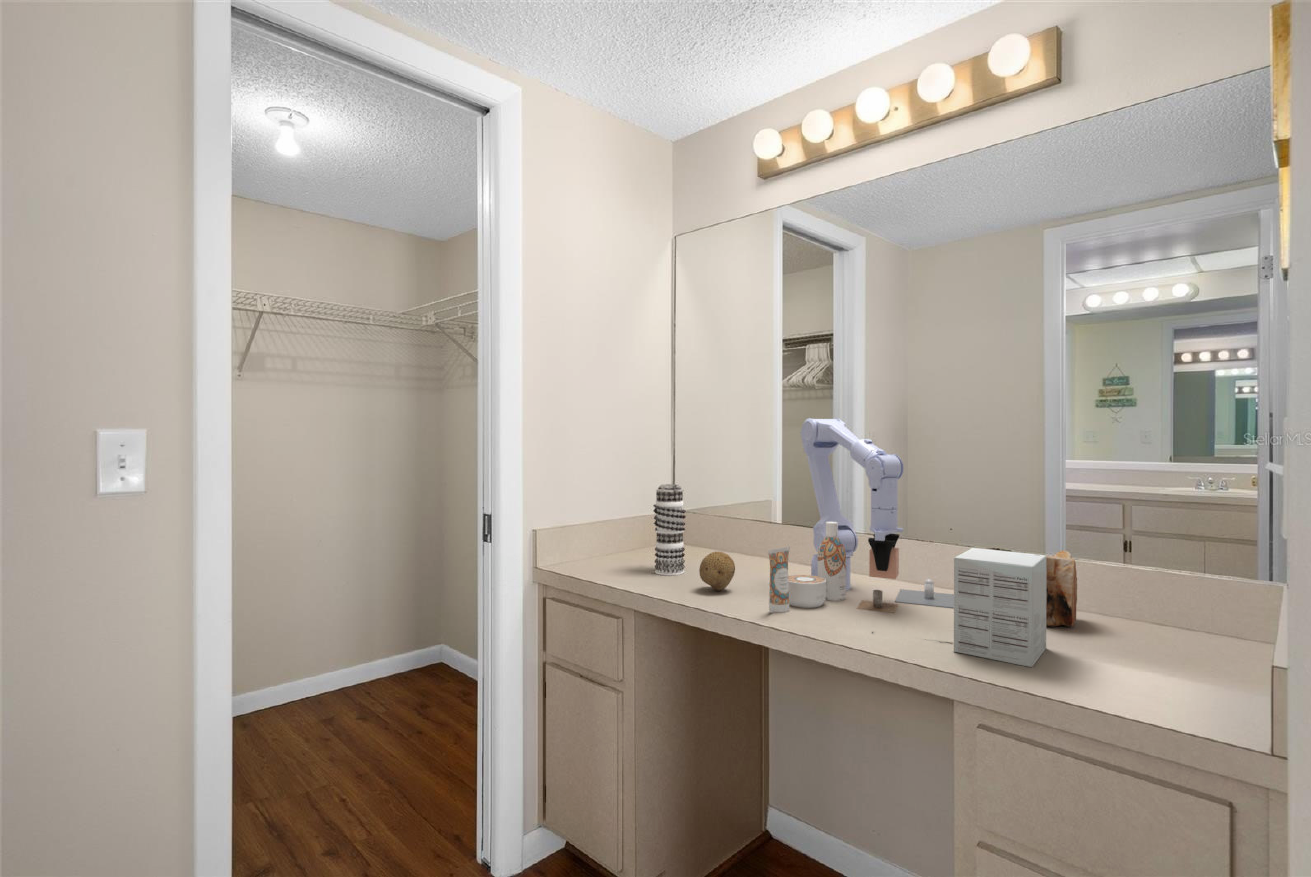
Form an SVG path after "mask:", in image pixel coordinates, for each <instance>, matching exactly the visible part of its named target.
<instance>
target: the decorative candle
mask: <svg viewBox="0 0 1311 877" xmlns="http://www.w3.org/2000/svg"><path fill="white" fill-rule="evenodd" d="M684 491H685V490H684V489H682V487H681V485H680V484H676V483H675V484H672V483H671V484H661V485H659V487H658V488H657V489H655V492H656V500H655V503H654V504H653V507H654V509H653V512H654V514H655V515H654V517H653V519H654V523H653V524H654V525H655V528H654V532H655V533H656V542H655V548H654V551H655V554H654V557H656V558H655V559H654V563H655V565H654V568H655V571H654V572H655V574H656V575H661V576H679V575H683V574H685V570H684V569H685V567H686V566H685V564H684V563H685V561H686V560H685V559H684V557H685V555H686V554H685V553H684V552H685V547H684V540H683V539H684V534H683V533H684V532H685V530H686V529H685V527H684V526H685V525H686V522H684V521H683V520H684V519H686V515H684V514H685V513H687V512H686V510H685V509H684V508H683V506H684V500H683V499H684V498H683V497H684V494H683V492H684Z"/></svg>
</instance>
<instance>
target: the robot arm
mask: <svg viewBox="0 0 1311 877" xmlns="http://www.w3.org/2000/svg"><path fill="white" fill-rule="evenodd" d="M799 433H800V439H801V442H802V447H803V450H804V453H805V454H806V459H807V464H808V469H809V473H810V477H811V481H812V485H813V491H814V496H815V499H816V504H817V509H818V513H819V520H818V522H816V524H815V525H814V526H813V527H812V530H813V546H814V550H815V551H816V552H817V554H813V556H812V557H811V564H810V568H811V569H810V571H811V572H810V573H811V575H812V576H818V550H819V546H820V544H821V543H822V541H823V540H824V538H825V537H826V522H837V523H838V538H839V539H840V541H841V542H842V544H843V546H844V548H845V552H846V592H847V591H850V590H851V557H853V556H854V552H856V550H857V548H858V545H859V538H858V535H857V533H856V531H855V530H854V528H853V523H852V521H850V520H848V518H846V517H845V516H843V515H842V511H841V508H840V502H839V498H838V494H837V490H836V485H835V481H834V478H833V477H834V476H833V473H832V468H831V464H830V459H829V456H830V455H831V454H833V453H834V452H835V451H837V450H836V449H838V447H839V446H842V447H843V448H845V449H846V450H848V451H849V455H850V457H851V459H852V460H854V461H855V462H856V463H857V464H858V465H860V466H861V468H863V469H864V470H865V475H866V477H867V478H868V486H869V488H870V526H869V531H870V532H871V533H872V534H873V537H868V539H867V540H868V541H867V542H868V544H869V546H870V549H871V548H872V551H873V554H874V558H875V564H876V568H877V570H879V571H887V569H888V565H889V559H890V554H891V550H892V548H896V544H897V543H898V540H899V538H900V534H898V533H903V532H904V527H898V526H899V525H898V522H899V521H898V518H899V516H898V514H899V513H898V506H899V505H898V502H899V500H898V499H899V498H898V495H899V494H898V493H899V489H898V484H899V483H898V482H899V481H898V480H900V479H901V478H902V476H903V474H904V469H905V468H904V462H903V461H902V458H900V456H899V455H898V454H893V453H892V454H888V453H887V452H885V450H884V449H882V448H880V447H878V446H877V445H876V444H874V443H873V440H872V439H870V438H865V439H864V438H863V439H862V438H861V439H859V438H858V437H857V435H855V434H854V433H853V432H852V431H851V430H849V429H848V428H847V424H846V422H845V421H842V420H841V419H840V418H810V417H809V418H807V419H805V420H804V422H803V424H802V426H801V430H800V432H799Z"/></svg>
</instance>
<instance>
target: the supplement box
mask: <svg viewBox="0 0 1311 877" xmlns="http://www.w3.org/2000/svg"><path fill="white" fill-rule="evenodd" d="M1046 556H1047V555H1044V554H1036V553H1027V552H1025V553H1024V552H1018V551H1008V550H1000V549H999V550H997V549H987V548H977V547H971V548H970V549H968V550H966V551H964V552H963V553H961V554H959V555H956V556H954V557H953V594H954V609H953V652H955V653H960V654H964V655H968V656H973V657H978V658H985V659H989V660H994V661H999V662H1004V663H1007V664H1008V663H1010V664H1014V665H1017V666H1018V665H1019V666H1024V667H1029V668H1032V667H1034V665H1035V664H1036V662H1037V661H1038V660H1039V659H1040V657H1041V656H1042V654H1043V653H1044V652H1045V650H1046V649H1047V626H1046V580H1047V570H1046Z"/></svg>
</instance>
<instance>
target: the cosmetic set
mask: <svg viewBox="0 0 1311 877" xmlns="http://www.w3.org/2000/svg"><path fill="white" fill-rule="evenodd" d="M789 554H790V546H786V547H780V548H774V549H769V550H768V556H769V594H768V595H769V597H768V612H769V613H770V614H773V613H781V614H782V613H787V612H789V611H790V606H793V607H797V608H805V609H808V608H809V609H810V608H811V609H813V608H818V607H821V606H823V604H824V603H825V602H826V601H836V602H837V601H844V600H846V599H847V591H846V552H845V548H844V546H843V544H842V542H841V541H840V539H839V538H838V523H837V522H826V537H825V538H824V540H823V541H822V543H821V544H820V546H819V550H818V552H817V554H818V576H812V575H810V574H791V575H789Z"/></svg>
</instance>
